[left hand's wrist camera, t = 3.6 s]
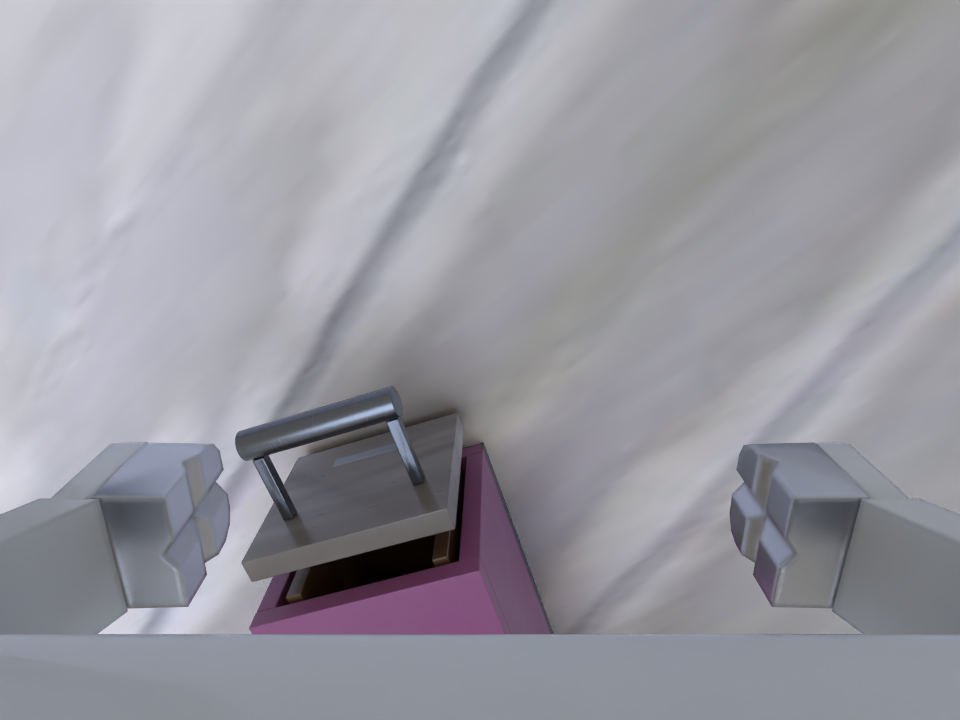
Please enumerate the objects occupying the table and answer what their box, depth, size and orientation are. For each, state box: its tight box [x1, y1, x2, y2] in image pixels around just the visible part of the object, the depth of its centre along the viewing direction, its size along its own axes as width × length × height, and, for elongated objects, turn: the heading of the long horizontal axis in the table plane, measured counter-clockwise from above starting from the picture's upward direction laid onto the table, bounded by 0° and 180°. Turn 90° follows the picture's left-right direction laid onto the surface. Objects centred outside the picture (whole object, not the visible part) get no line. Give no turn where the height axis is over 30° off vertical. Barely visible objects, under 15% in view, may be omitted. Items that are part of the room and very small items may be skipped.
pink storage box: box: [249, 443, 553, 634], centre depth 38 cm, size 20×11×12 cm, turn 18°
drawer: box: [235, 386, 465, 604], centre depth 36 cm, size 23×10×10 cm, turn 18°
